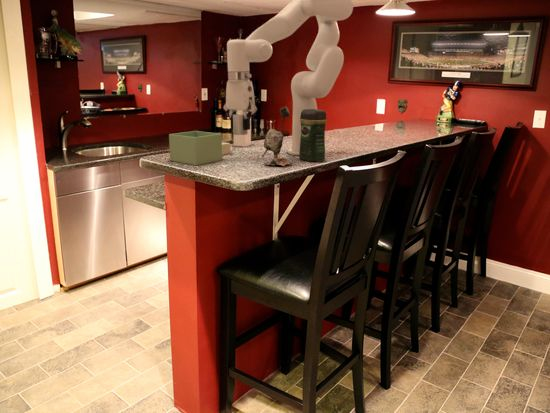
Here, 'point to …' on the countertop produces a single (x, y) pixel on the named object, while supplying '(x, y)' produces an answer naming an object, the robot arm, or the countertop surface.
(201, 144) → the bin
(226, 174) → the countertop surface
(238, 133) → the empty can
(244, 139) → the milk
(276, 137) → the plant with pod
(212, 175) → the countertop surface
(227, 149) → the beige grey block
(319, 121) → the coffee jar
